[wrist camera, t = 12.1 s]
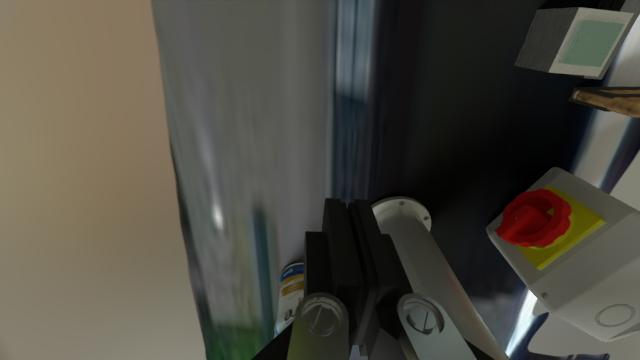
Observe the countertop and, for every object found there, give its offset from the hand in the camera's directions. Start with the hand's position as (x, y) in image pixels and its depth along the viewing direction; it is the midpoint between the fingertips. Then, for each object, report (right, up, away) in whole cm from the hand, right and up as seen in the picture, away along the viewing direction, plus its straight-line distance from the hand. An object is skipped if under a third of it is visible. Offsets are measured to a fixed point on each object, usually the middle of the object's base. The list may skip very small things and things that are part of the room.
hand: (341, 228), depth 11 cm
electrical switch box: (+33, -2, +35) cm, 48 cm away
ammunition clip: (+38, +14, +26) cm, 49 cm away
